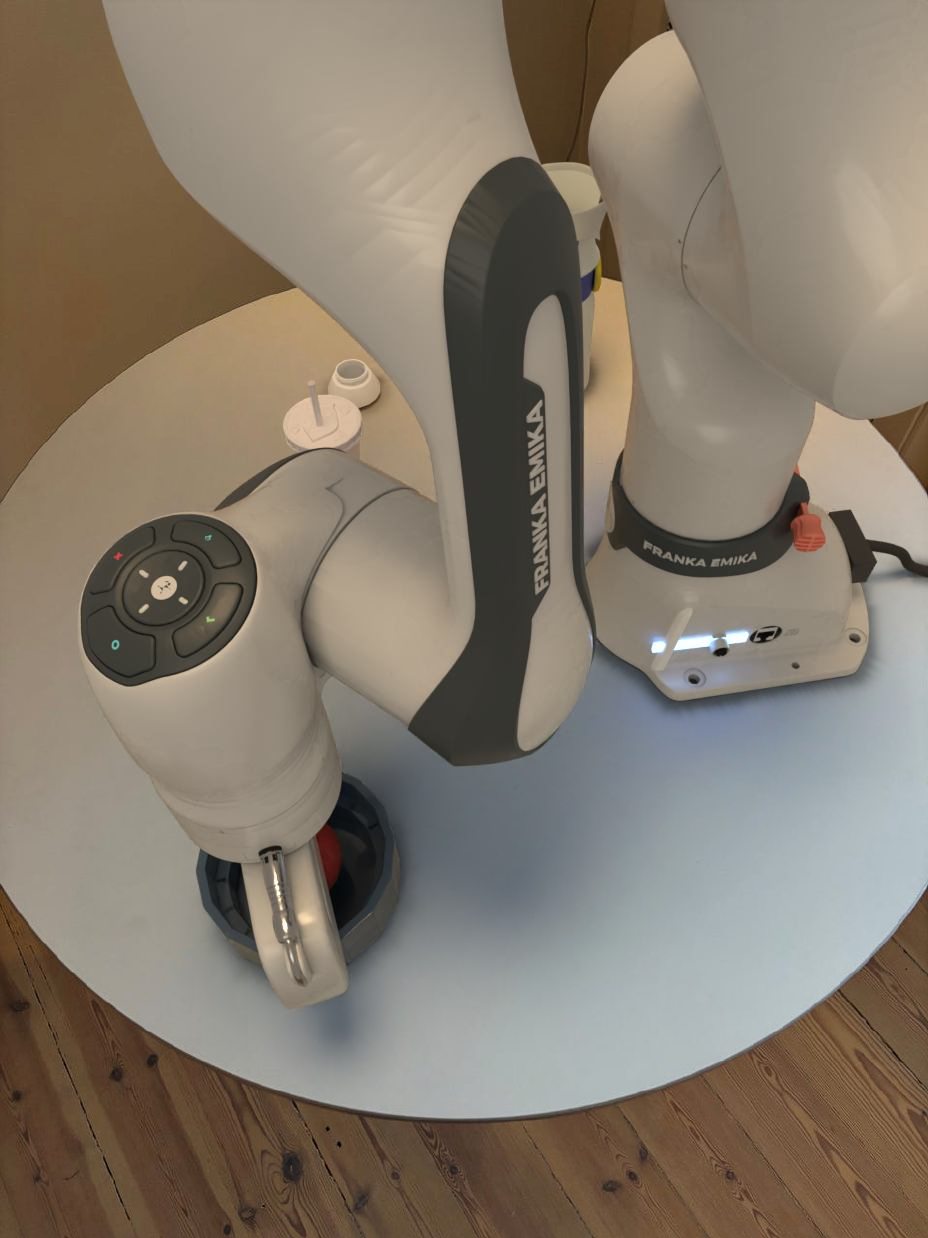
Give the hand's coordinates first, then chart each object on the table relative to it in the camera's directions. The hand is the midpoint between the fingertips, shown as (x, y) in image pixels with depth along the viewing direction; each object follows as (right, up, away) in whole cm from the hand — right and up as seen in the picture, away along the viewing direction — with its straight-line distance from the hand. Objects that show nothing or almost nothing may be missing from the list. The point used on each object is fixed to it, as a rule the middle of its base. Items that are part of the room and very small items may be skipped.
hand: (297, 862), depth 58 cm
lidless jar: (0, +37, +30) cm, 48 cm away
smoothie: (0, +26, +22) cm, 34 cm away
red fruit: (0, -2, +3) cm, 3 cm away
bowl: (0, -2, +3) cm, 4 cm away
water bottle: (+19, +40, +31) cm, 54 cm away
